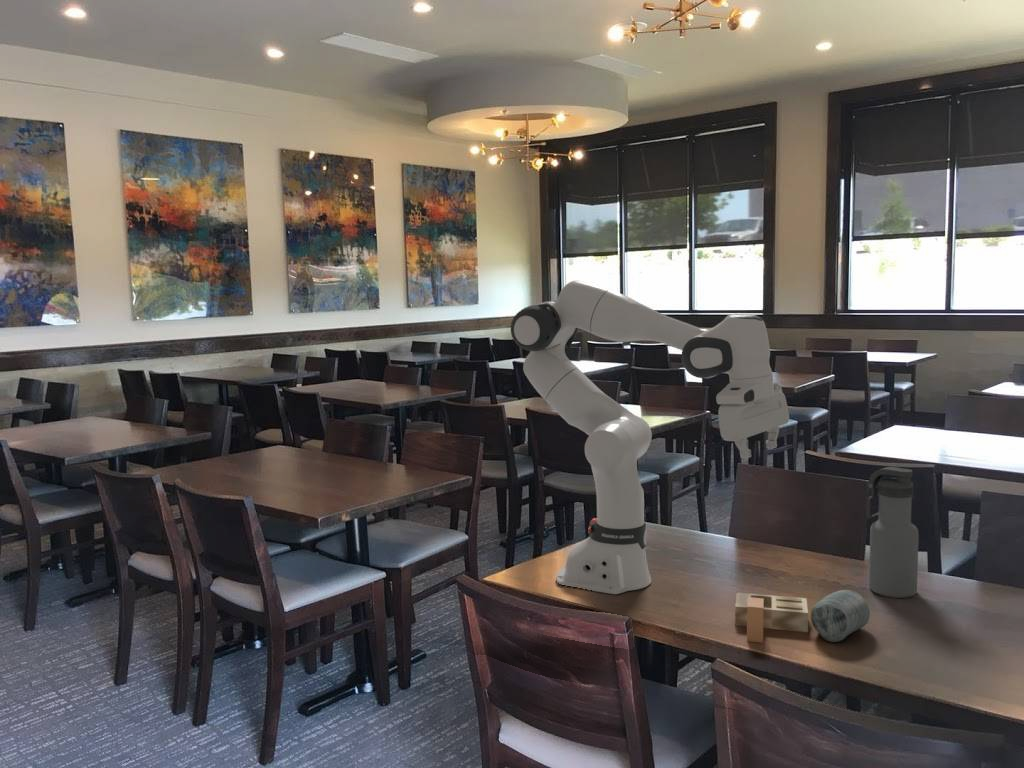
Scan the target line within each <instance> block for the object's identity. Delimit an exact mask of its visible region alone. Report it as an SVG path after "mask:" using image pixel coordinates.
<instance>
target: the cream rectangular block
mask: <svg viewBox="0 0 1024 768" xmlns="http://www.w3.org/2000/svg"><path fill="white" fill-rule="evenodd" d="M735 595H736V596H735V606H734V609H735V611H734V612H735V613H734V616H735V617H734V618H735V619H734V625H735V626H740V627H747V604H748V597H752V598H763V599H764V605H763V629H771V630H780V631H782V630H783V631H790V632H791V631H793V632H799V633H800V632H802V633H809V609H808V601H807V597H806V598H805V597H796V596H795V597H794V596H783V595H782V596H781V595H771V594H758V593H745V592H736V593H735Z"/></svg>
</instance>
